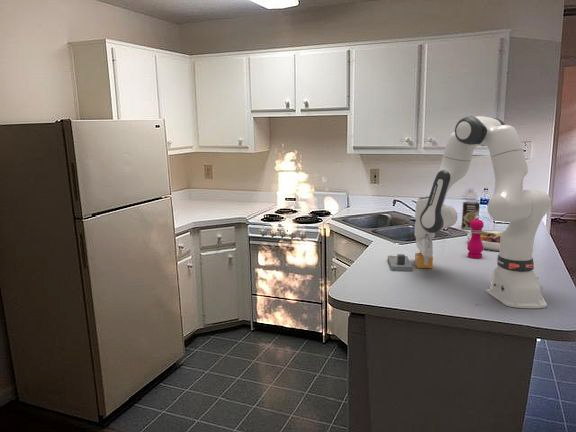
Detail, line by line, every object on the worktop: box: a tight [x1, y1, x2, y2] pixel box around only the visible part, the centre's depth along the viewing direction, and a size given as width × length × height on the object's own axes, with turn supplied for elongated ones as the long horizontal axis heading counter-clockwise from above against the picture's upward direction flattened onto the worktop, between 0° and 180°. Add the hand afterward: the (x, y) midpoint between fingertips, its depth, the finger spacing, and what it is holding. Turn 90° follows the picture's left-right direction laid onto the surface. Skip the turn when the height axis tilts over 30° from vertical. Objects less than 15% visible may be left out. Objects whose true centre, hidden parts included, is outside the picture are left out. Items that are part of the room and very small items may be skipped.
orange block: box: [414, 252, 434, 269], centre depth 209 cm, size 7×7×5 cm
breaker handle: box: [396, 253, 406, 264], centre depth 206 cm, size 3×3×4 cm
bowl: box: [467, 229, 505, 252], centre depth 242 cm, size 30×30×8 cm
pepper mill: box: [466, 216, 484, 259], centre depth 220 cm, size 7×7×20 cm
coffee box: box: [460, 201, 480, 231], centre depth 279 cm, size 9×6×16 cm
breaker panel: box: [387, 254, 414, 272], centre depth 211 cm, size 17×9×3 cm, turn 174°
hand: (423, 262), depth 209 cm, fingers closed on orange block, 7 cm apart
